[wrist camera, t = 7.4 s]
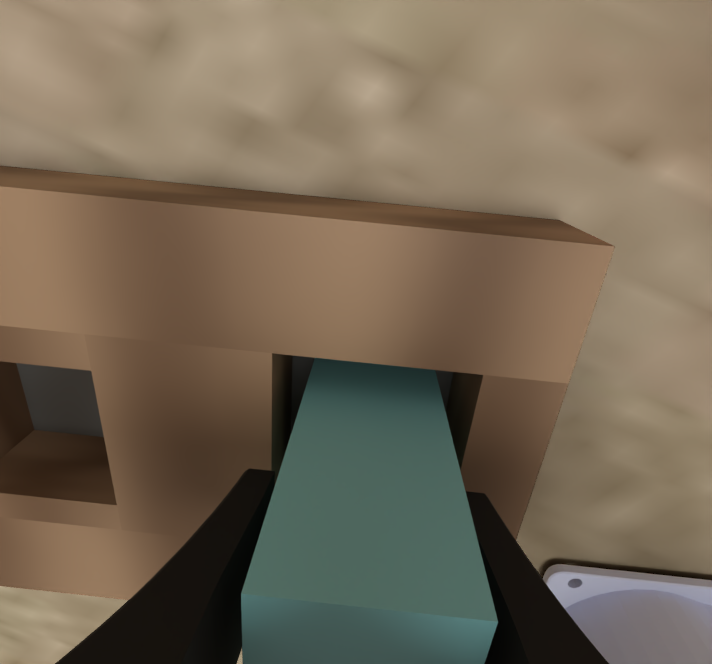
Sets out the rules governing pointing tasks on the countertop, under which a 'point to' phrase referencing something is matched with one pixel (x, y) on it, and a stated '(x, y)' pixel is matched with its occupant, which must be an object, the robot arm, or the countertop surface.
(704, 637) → the robot arm
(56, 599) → the countertop surface
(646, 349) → the countertop surface
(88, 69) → the countertop surface
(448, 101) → the countertop surface
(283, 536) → the teal cuboid tower
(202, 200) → the socket board
